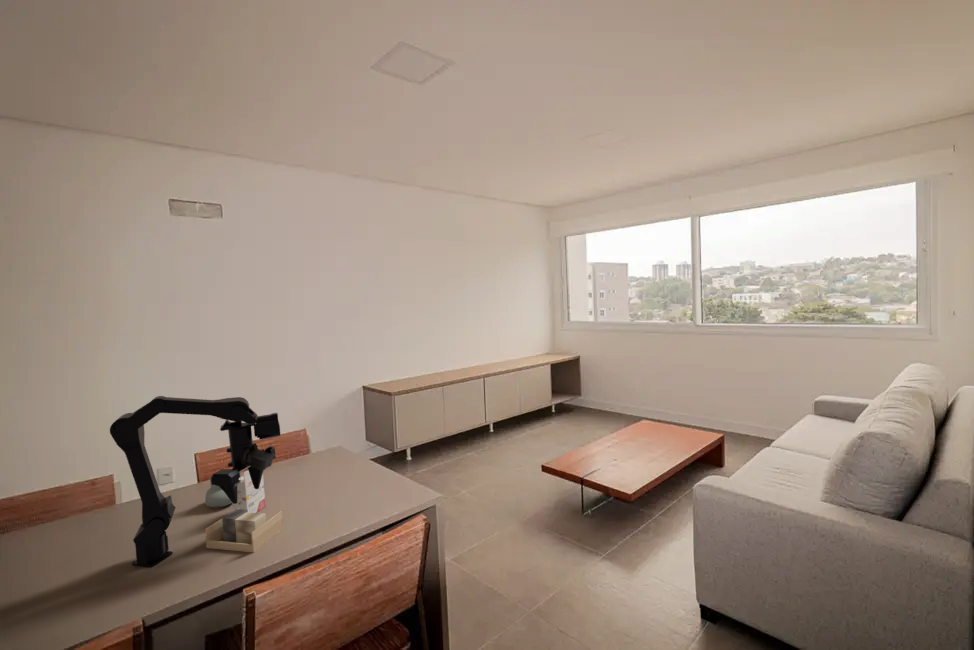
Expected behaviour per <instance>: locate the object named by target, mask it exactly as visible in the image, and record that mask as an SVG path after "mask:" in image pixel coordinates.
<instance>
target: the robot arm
mask: <svg viewBox="0 0 974 650" xmlns="http://www.w3.org/2000/svg"><path fill="white" fill-rule="evenodd" d="M159 414H174V415H175V414H177V415H178V414H179V415H192V416H193V415H197V416H198V415H199V416H211V417H214V418H215V417H216V418H219V419H222V420H225V421H224V423H223V424H222V425H221V426H220V429H219V431H221V432H222V431H223V432H224V431H228V440H229V447H227V448H226V453H230V462H228V463H227V466H228V467H229V468H221V469H220V470H218V471H216V472H214V473H213V474H212V475H211V476H210V477H211V484H210V486H211V485H215V486H219V487H220V488H221V489H222V490H223V491H224V492H225V494H226V495H227V496H228V498H229V499H230V500H231V502H232V503H231V504H233V505H234V504H236V503H237V499H238V494H237V485H238V484H239V483H240V481H241V480H239V478H240V477H241V473H242V472H243V471H245V470H247V471H249V474H250V477H251V480H252V483H253V486H254V488H255V489H259V486H260V482H261V478H262V474H263V475H264V471H265V470H266V469H267V468H269V467H271V466H272V465H273V464H272V463H273V460H276V459H277V456H276V450H275V449H276V448H275V447H274V446H271V445H270V446H268V447H266V448H265V449H259V448H258V444H257V442H256V443H255V442H253V433H254V437H255V438H257V439H259V440H260V441H261V440H265V439H270V438H276V437H280V436H281V426H280V422H279V416H278V415H279V413H278V412H273V413H270V414H265V415H258V414H257V413H256V412H255V411H254V410H253V409H251V407H250V403H249V401H248V400H247V399H246V398H244V397H242V396H240V397H239V396H236V397H226V398H221V399H202V398H201V399H200V398H199V399H198V398H187V397H186V398H185V397H184V398H182V397H170V396H168V397H167V396H164V395H158V396H155V397H154V398H152V400H151V401H148V402H147V403H146V404H144V405H143V406H141V407H139V408H138V409H137V410H135V411H134V412H128V413H127V412H126V413H124V414H121V416H119V417H118V418H117V419H116V420H115V421H114V422H113V423H111V425H110V427H109V434H110V436H111V437H112V439H113V441H114V443H115V444H116V446H118V448H119V449H121V451H122V452H123V453H124V454H125V458H126V460H127V463H128V466H129V469H130V472H131V474H132V477H133V480H134V484H135V486H136V490H137V492H138V495H139V497H140V500H141V519H142V520H141V521H142V523H141V524H140V525H139V528H138V529H137V532H136V534H135V536H134V538H133V540H132V541H133V543H134V546H135V556H136V557H135V558H136V559H135V560H134V561H132V562H131V565H132V566H140V567H148V568H152V567H154V566H155V565H157V564H159V563H160V562H162V561H163V560H165V559H167V558H168V557H170V556H171V555H172V554H173V550H172V551H171V550H169V538H168V535H167V531H166V530H168V528H169V526H170V525H171V522H172V520H173V517H174V513H175V510H176V506H175V505H174V503H173V500H172V499H173V498H172V495H168V496H166V497H165V496H164V495H163V493H162V492H161V490H160V487H159V484H158V481H157V478H156V474H155V472H154V470H153V467H152V464H151V460H150V458H149V454H148V452H147V449H146V447H145V445H146V444H145V424H147V423H149V421H151V420H152V419H154V418H155V417H156V416H158V415H159ZM252 427H253V431H254V432H253V433H252Z"/></svg>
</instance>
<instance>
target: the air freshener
mask: <svg viewBox="0 0 974 650" xmlns="http://www.w3.org/2000/svg"><path fill="white" fill-rule="evenodd" d="M209 481H210V482H209V483H210V488H209V489H207V490H206V493H205V502H204V503H205V505H206V506H207V507H210V508H213V509H216V508H223V507H227V506H229V505H231V504H233V503H232V502H231V500H230V499H229V498H228V496H227V495H226V494H225V492H224V491H223V490H222V489H221V488H220V487H219V486H215V485H211V476H210V478H209Z"/></svg>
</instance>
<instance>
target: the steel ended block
mask: <svg viewBox="0 0 974 650" xmlns="http://www.w3.org/2000/svg"><path fill="white" fill-rule="evenodd" d="M221 519H222V521H223V535H224V538H223V541H224V542H235V543H245V544H252V541H251V540H252V536H251V532H253V531H254V530H256V529H257V528H258V527H260V526H261V525H262V524H264V523H265V522H266V521H267V514H266V513H260V512H256V513H249V512H248V510H245V509H236V510H234V509H233V510H232V511H231V512H229V513H227V515H225V516H223V517H222V518H221Z"/></svg>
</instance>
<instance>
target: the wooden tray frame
mask: <svg viewBox="0 0 974 650" xmlns="http://www.w3.org/2000/svg"><path fill="white" fill-rule="evenodd" d="M238 509H240V508H238ZM284 529H285V528H284V517H283V510H280V511H279V512H278V513H276V514H275V515H274V516H273V517H271V518H269V519H268V520H266V522H265V523H264V524H262V525H261V526H260V527H258V528H257V529H256V530H254V531H253V532H251V536H252V540H251V541H252V543H241V542H236V543H235V542H224V540H223V539H224V535H223V521H222V518H220V519H219V520H217V521H216V522H214V523H212V524H211V525H210V526H208V527H206V528H205V542H206V543H205V545H206V549H215V550H225V551H235V552H245V553H255V552H257V551H258V550H259V549H260V548H262V547H263V546H265V544H267V542H270V540H272V539H273V538H274V537H276V535H278V534H279V533H280V532H282V531H283V530H284Z"/></svg>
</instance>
